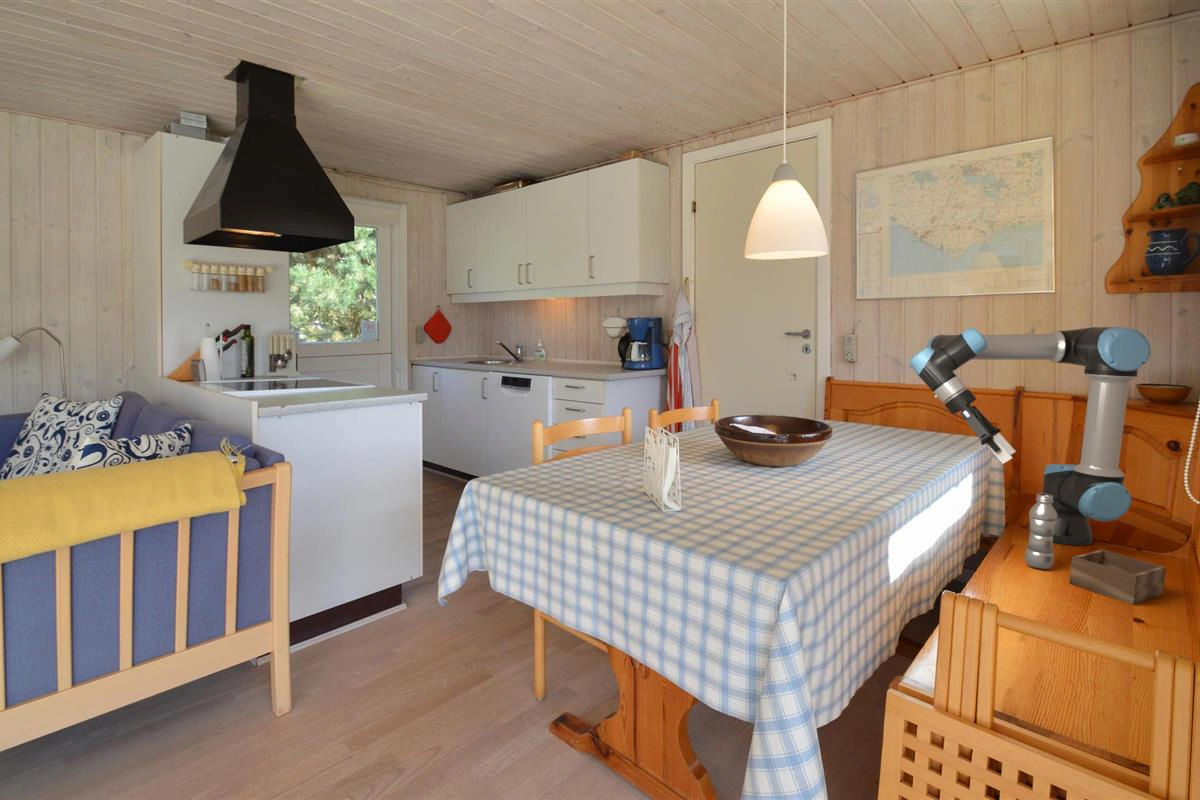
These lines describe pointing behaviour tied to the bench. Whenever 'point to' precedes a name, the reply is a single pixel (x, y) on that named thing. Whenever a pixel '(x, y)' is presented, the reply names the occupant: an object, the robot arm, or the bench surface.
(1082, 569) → the walnut bottle box
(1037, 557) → the plastic bottle
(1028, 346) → the robot arm
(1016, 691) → the bench surface
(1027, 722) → the bench surface
